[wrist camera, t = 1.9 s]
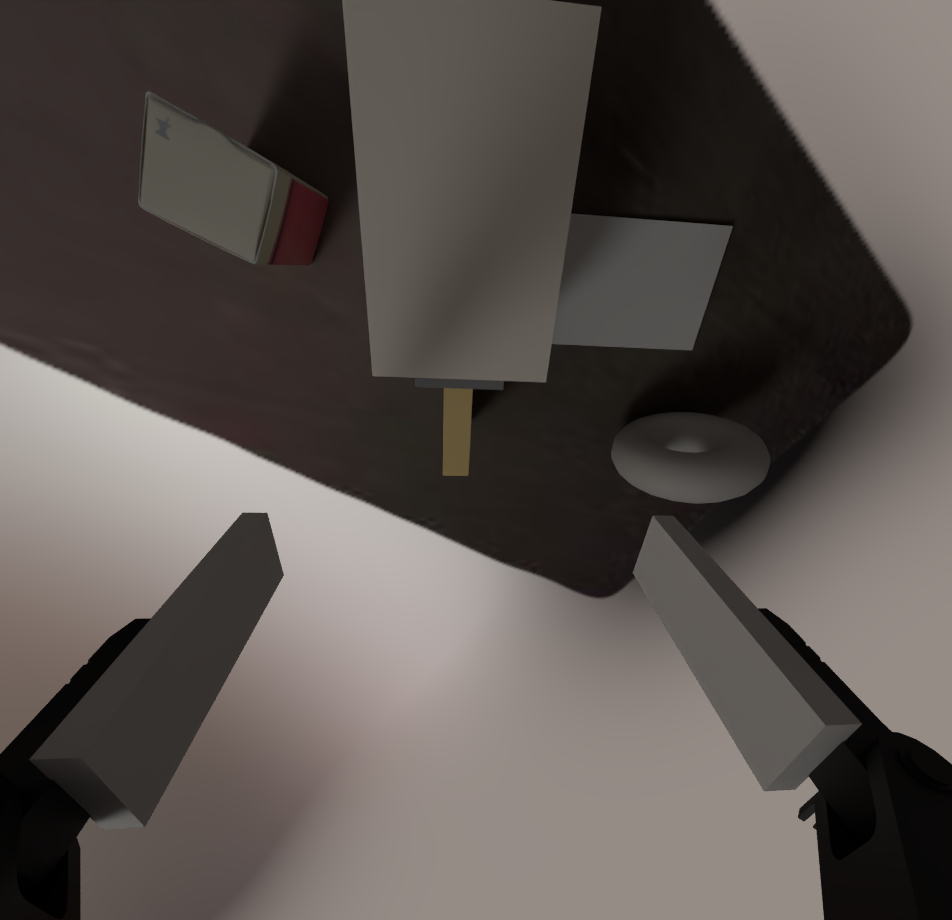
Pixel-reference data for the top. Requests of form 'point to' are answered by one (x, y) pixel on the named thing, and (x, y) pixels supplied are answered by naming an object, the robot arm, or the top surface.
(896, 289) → the top surface
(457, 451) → the yellow rectangular slab
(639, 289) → the mat
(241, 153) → the small box
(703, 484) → the donut
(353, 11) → the large beige block
